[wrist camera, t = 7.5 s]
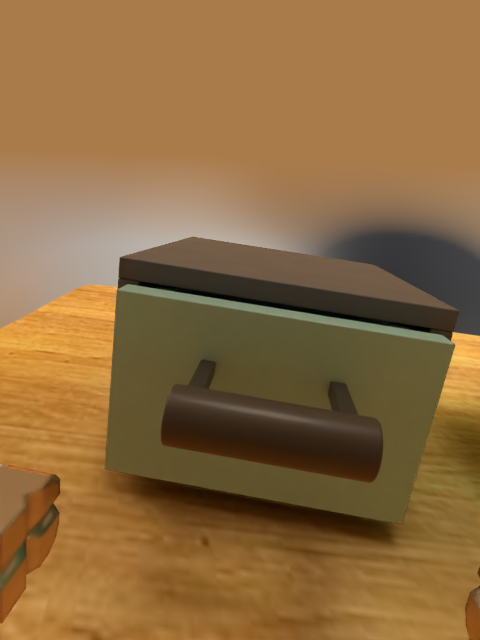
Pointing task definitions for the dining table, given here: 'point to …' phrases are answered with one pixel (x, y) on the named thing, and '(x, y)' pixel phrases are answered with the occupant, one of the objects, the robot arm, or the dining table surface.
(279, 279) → the mini chest of drawers
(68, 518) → the dining table surface
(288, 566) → the dining table surface
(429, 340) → the drawer
